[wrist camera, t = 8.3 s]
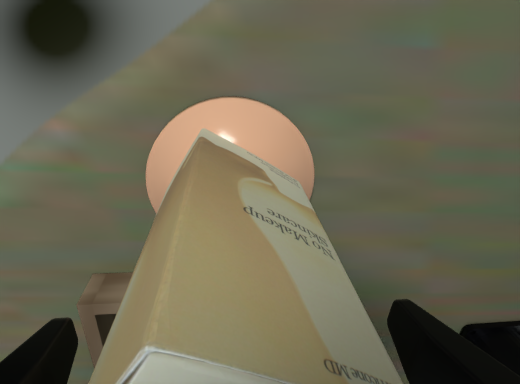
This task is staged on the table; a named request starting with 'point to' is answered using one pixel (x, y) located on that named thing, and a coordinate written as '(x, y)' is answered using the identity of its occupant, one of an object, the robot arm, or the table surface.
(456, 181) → the table surface
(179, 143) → the peach flat disc
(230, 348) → the skincare box
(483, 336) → the robot arm
